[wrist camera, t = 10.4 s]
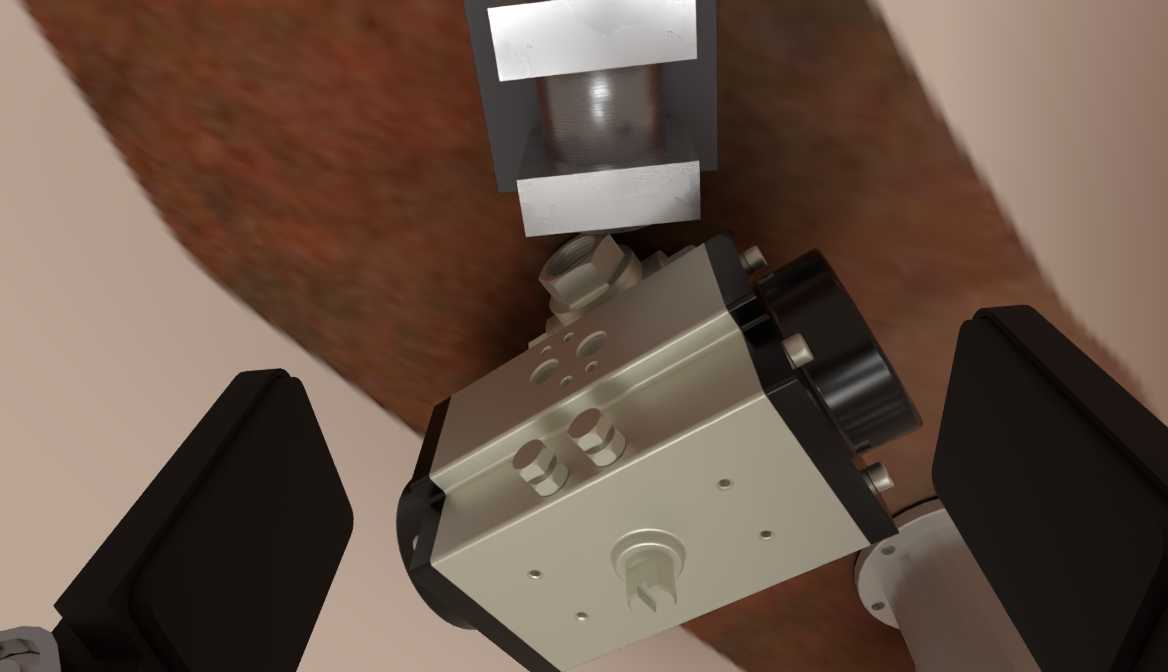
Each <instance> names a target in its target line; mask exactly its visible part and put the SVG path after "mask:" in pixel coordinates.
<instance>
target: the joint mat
mask: <svg viewBox="0 0 1168 672" xmlns="http://www.w3.org/2000/svg"><path fill="white" fill-rule="evenodd" d="M463 1H464V7H465V12H466V18H467V23H468V28H469V34H470V39H471V45H472V50H473V55H474V61H475V66H476V72H477V77H478V82H479V88H480V93H481V99H482V104H483V110H484V115H485V120H486V126H487V131H488V137H489V142H490V147H491V153H492V158H493V164H494V169H495V174H496V180H497V185H498V191H499V193H505V192H514V191H518V187H517V181H516V180H517V176H518V173H519V169H520V165H521V161H522V158H523V154H524V150H525V147H526V143H527V139H528V135H529V132H530V130H537V129H542V128H541V121H540V114H539V107H538V100H537V93H536V86H535V79H534V77H533V78H524V79H516V80H507V81H500V80H499V74H498V68H497V62H496V56H495V50H494V44H493V38H492V33H491V27H490V21H489V15H488V8H489V7H490V6H491V5H492V4H493V3H494V2H495V1H496V0H463ZM696 38H697V59H688V60H680V61H671V62H663V77H664V98H665V115H672V114H679V115H680V118H681V120H682V122H683V125H684V127H685V129H686V132H687V134H688V136H689V138H690V141H691V143H692V145H693V148H694V150H695V152H696V154H697V157H698V159H699V171H700V172H704V171H713V170H718V149H717V29H716V0H696Z"/></svg>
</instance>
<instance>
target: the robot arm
mask: <svg viewBox="0 0 1168 672" xmlns="http://www.w3.org/2000/svg"><path fill="white" fill-rule="evenodd" d="M932 481H933V485H934V489H935V491H936V494H937V496H938V497H939V499H935V500H932V501H929V502H925V503H923V504H921V505H918V506H916V507H914V508H911V509H909V510H907V511H905V512H903V513H902V514H900V515H898V516H897V517H895V518H893V520H894V522H895V524H896V526H897V528H898V530H899V532H900V533H899V534H897V535H894V536H892V537H890V538H887V539H885V540H882V541H880V542H877V543H875V544H873V545H870V546H868V547H865V548H863V549H862V551H861V552H860V554H859V556H858V558H857V562H856V565H855V569H854V582H855V585H856V588H857V591H858V594H859V597H860V599H861V601H862V603H863V605H864V607H865V608H866V609H867V610H868V611H869V612H870V613H871V614H872V616H874V617H875V618H877V619H878V620H880V621H881V622H883V623H885V624H887V625H890V626H892V627H895V628H897V629H900V631H901V633H902V635H903V638H904V640H905V642H906V645H907V647H908V649H909V652H910V654H911V656H912V659H913V661H914V663H915V666H916V669H915V672H1168V427H1167V426H1166V425H1164V424H1163V423H1162V422H1161V421H1160V420H1159V419H1158V418H1157V417H1155V416H1154V415H1153V414H1152V413H1151V412H1150V411H1149V410H1148V409H1146V408H1145V407H1144V406H1143V405H1142V404H1141V403H1140V402H1139V401H1137V400H1136V399H1135V398H1134V397H1133V396H1132V395H1131V394H1130V393H1128V392H1127V391H1126V390H1125V389H1124V388H1123V387H1122V386H1121V385H1119V384H1118V383H1117V382H1116V381H1115V380H1114V379H1113V378H1112V377H1110V376H1109V375H1108V374H1107V373H1106V372H1105V371H1104V370H1103V369H1101V368H1100V367H1099V366H1098V365H1097V364H1096V363H1095V362H1094V361H1092V360H1091V359H1090V358H1089V357H1088V356H1087V355H1086V354H1085V353H1083V352H1082V351H1081V350H1080V349H1079V348H1078V347H1077V346H1075V345H1074V344H1073V343H1072V342H1071V341H1070V340H1069V339H1068V338H1066V337H1065V336H1064V335H1063V334H1062V333H1061V332H1060V331H1059V330H1057V329H1056V328H1055V327H1054V326H1053V325H1052V324H1051V323H1050V322H1048V321H1047V320H1046V319H1045V318H1044V317H1043V316H1042V315H1041V314H1039V313H1038V312H1037V311H1036V310H1035V309H1034V308H1032V307H1030V306H1029V305H1014V306H1002V307H991V308H981V309H979V310H978V311H977V312H976V313H975V315H974V316H973V319H972V320H966V321H964V322H963V324H962V325H961V327H960V331H959V335H958V340H957V345H956V350H955V355H954V360H953V365H952V370H951V375H950V380H949V385H948V390H947V395H946V400H945V405H944V410H943V415H942V420H941V425H940V430H939V435H938V440H937V445H936V450H935V455H934V460H933V465H932ZM353 519H354V518H353V511H352V508H351V505H350V502H349V500H348V497H347V495H346V492H345V490H344V487H343V485H342V482H341V479H340V477H339V474H338V472H337V469H336V467H335V465H334V462H333V459H332V457H331V454H330V452H329V449H328V446H327V444H326V441H325V439H324V436H323V434H322V431H321V429H320V426H319V424H318V421H317V419H316V416H315V414H314V411H313V409H312V406H311V403H310V401H309V398H308V396H307V393H306V391H305V388H304V386H303V384H302V382H301V381H300V380H299V379H298V378H296V377H290V375H289V373H288V372H287V371H286V370H284V369H281V368H278V369H266V370H255V371H245V372H241V373H239V374H238V375H237V376H236V377H235V378H234V379H233V381H232V382H231V383H230V384H229V386H228V387H227V388H226V389H225V391H224V392H223V393H222V394H221V396H220V397H219V398H218V399H217V401H216V402H215V403H214V404H213V406H212V407H211V408H210V410H209V411H208V412H207V413H206V414H205V416H204V417H203V418H202V419H201V421H200V422H199V423H198V425H197V426H196V427H195V428H194V430H193V431H192V432H191V433H190V435H189V436H188V437H187V438H186V440H185V441H184V442H183V443H182V445H181V446H180V447H179V448H178V450H177V451H176V452H175V454H174V455H173V456H172V457H171V458H170V460H169V461H168V462H167V463H166V465H165V466H164V467H163V468H162V470H161V471H160V472H159V473H158V475H157V476H156V477H155V479H154V480H153V481H152V482H151V483H150V485H149V486H148V487H147V489H146V490H145V491H144V492H143V494H142V495H141V496H140V497H139V499H138V500H137V501H136V502H135V504H134V505H133V506H132V507H131V509H130V510H129V511H128V512H127V514H126V515H125V516H124V517H123V519H122V520H121V521H120V522H119V524H118V525H117V526H116V527H115V529H114V530H113V531H112V533H111V534H110V535H109V536H108V537H107V539H106V540H105V541H104V543H103V544H102V545H101V546H100V548H99V549H98V550H97V551H96V553H95V554H94V555H93V556H92V558H91V559H90V560H89V562H88V563H87V564H86V565H85V566H84V568H83V569H82V570H81V571H80V573H79V574H78V575H77V576H76V578H75V579H74V580H73V581H72V583H71V584H70V585H69V587H68V588H67V589H66V590H65V592H64V593H63V594H62V595H61V597H60V598H59V599H58V601H57V602H56V603H55V604H54V607H55V609H56V610H57V611H58V613H59V614H60V615H61V616H62V619H61V621H60V622H59V624H58V625H57V626H56V627H55V628H54V630H53V631H52V632H49V631H47V630H45V629H43V628H41V627H27V626H25V627H24V626H23V627H22V626H21V627H17V628H13V629H8V630H5V631H0V672H296V671H297V668H298V666H299V663H300V661H301V658H302V656H303V653H304V651H305V648H306V646H307V643H308V641H309V638H310V636H311V633H312V631H313V628H314V626H315V624H316V621H317V619H318V616H319V614H320V611H321V609H322V606H323V604H324V601H325V599H326V596H327V594H328V591H329V589H330V586H331V584H332V581H333V578H334V576H335V574H336V571H337V569H338V566H339V564H340V561H341V559H342V556H343V554H344V551H345V549H346V546H347V544H348V541H349V539H350V537H351V533H352V530H353Z"/></svg>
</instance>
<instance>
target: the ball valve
mask: <svg viewBox="0 0 1168 672" xmlns="http://www.w3.org/2000/svg"><path fill="white" fill-rule="evenodd" d="M766 266H767V262H766V261H765V259H764V257H763V255H762V254H761V252H760V250H759V249H758V247H757V246H753V247H751V248H749V249H748V250H746V251H744V249H743V247H742V246H741V244H740V243H739V241H738V240H737V238H736V236H735V235H734V233H733V232H732V231H730V232H729V231H728V230H727V229H726V230H724V231H723V232H721V233H720V234H718V235H716V236H715V237H713V238H711V239H710V240H708V241H706V242H705V243H703V244H701V245H700V246H698V247H695V246H694V245H690V246H687V247H685V248H683V249H682V250H680V251H679V252H677V253H675V254H674V255H672V256H670V257H669V258H668V257H667V256H666V255H665V254H664V253H663V252H662V251H657V252H656V253H654V254H652V255H651V256H649V257H648V258H646V259H644V260H643V261H641V262H640V261H639V260H638V258H637V257H636V255H635V254H634V253H633V251H632V250H631V249H630V247H628V246H627V245H617V244H616V242H615V241H614V240H613V238H612V237H611V236H610V234H603V235H594V234H580V235H578V236H576V237H575V238H573V239H571V240H570V241H568V242H567V243H566V244H564V245H563V246H562V247H561V248H560V249H558V250H557V251H556V252H555V253H554V254H553V255H552V256H551V258H550V259H549V260H548V261H547V262H546V264H545V265H544V267H543V269H542V271H541V273H540V276H539V279H538V280H539V281H540V282H541V284H542V285H543V286H544V287H545V288H546V290H547V291H548V292H549V293H550V294H551V298H550V302H549V307H550V310H551V311H552V312H553V313H554V315H553V316H552V317H550V318H549V319H548V320H547V322H546V333H544V334H542V335H541V336H539V337H538V338H536V339H534V340H533V341H531V342H529V349H528V350H526V351H525V352H523V353H522V354H520V355H518V356H517V357H515V358H513V359H512V360H510V361H508V362H507V363H505V364H503V365H502V366H500V367H498V368H497V369H495V370H494V371H492V372H490V373H489V374H487V375H485V376H484V377H482V378H480V379H479V380H477V381H475V382H474V383H472V384H470V385H469V386H467V387H465V388H464V389H462V390H461V391H459V392H457V393H456V394H454V395H452V396H451V397H449V398H447V399H446V400H444V401H442V402H441V403H439V404H437V405H436V406H434V409H433V413H432V416H431V419H430V422H429V425H428V429H427V432H426V435H425V438H424V441H423V445H422V448H421V451H420V454H419V457H418V461H417V464H416V467H415V470H414V474H413V477H412V479H411V480H410V481H409V482H408V484H407V485H406V487H405V488H404V490H403V492H402V494H401V497H400V499H399V503H398V508H397V515H396V530H397V531H396V532H397V540H398V545H399V550H400V554H401V557H402V561H403V563H404V566H405V569H406V571H407V573H408V576H409V578H410V580H411V582H412V583H413V585H414V587H415V589H416V590H417V592H418V593H419V595H420V596H421V597H422V599H423V600H424V602H425V603H426V604H427V605H428V606H429V607H430V608H431V609H432V610H433V611H434V612H435V613H436V614H437V615H438V616H439V617H441V618H442V619H443V620H445V621H446V622H448V623H450V624H451V625H453V626H456V627H459V628H462V629H469V630H478V631H479V632H481V633H482V634H483V635H484V636H486V637H487V638H488V639H489V640H491V641H492V642H493V643H495V644H496V645H497V646H498V647H500V648H501V649H502V650H503V651H505V652H506V653H507V654H508V655H510V656H511V657H512V658H513V659H515V660H516V661H517V662H518V663H520V664H521V665H522V666H524V667H525V668H526V669H527V670H529V671H530V672H565V671H567V670H570V669H572V668H575V667H577V666H580V665H582V664H584V663H587V662H589V661H591V660H594V659H597V658H599V657H601V656H603V655H606V654H608V653H611V652H613V651H616V650H618V649H621V648H623V647H626V646H628V645H630V644H633V643H635V642H638V641H640V640H642V639H645V638H647V637H650V636H652V635H655V634H657V633H659V632H662V631H664V630H667V629H669V628H671V627H674V626H676V625H679V624H681V623H684V622H686V621H689V620H691V619H693V618H696V617H698V616H701V615H703V614H705V613H708V612H710V611H713V610H715V609H718V608H720V607H722V606H725V605H727V604H730V603H732V602H735V601H737V600H739V599H742V598H744V597H747V596H749V595H751V594H754V593H756V592H759V591H761V590H764V589H766V588H768V587H771V586H773V585H776V584H778V583H781V582H783V581H785V580H788V579H790V578H793V577H795V576H798V575H800V574H802V573H805V572H807V571H810V570H812V569H814V568H817V567H819V566H822V565H824V564H827V563H829V562H831V561H834V560H836V559H839V558H841V557H844V556H846V555H848V554H851V553H853V552H856V551H858V550H860V549H863V548H865V547H868V546H870V545H873V544H875V543H877V542H880V541H882V540H885V539H887V538H890V537H892V536H894V535H897V534H899V533H900V532H899V530H898V528H897V526H896V524H895V522H894V520H893V518H892V516H891V514H890V512H889V510H888V508H887V506H886V504H885V502H884V500H883V498H882V496H881V494H880V492H882V491H884V490H887V489H889V488H891V487H893V486H894V483H893V481H892V479H891V477H890V475H889V473H888V472H887V470H886V468H885V467H884V465H883V464H882V462H877V463H875V464H873V465H870V466H868V467H867V466H866V464H865V462H864V460H863V458H862V454H865V453H867V452H869V451H871V450H873V449H876V448H878V447H880V446H882V445H884V444H886V443H889V442H891V441H893V440H895V439H897V438H900V437H902V436H904V435H906V434H908V433H910V432H913V431H915V430H917V429H919V428H921V427H922V425H923V421H922V419H921V416H920V414H919V412H918V411H917V409H916V407H915V405H914V403H913V401H912V399H911V398H910V396H909V394H908V392H907V391H906V389H905V387H904V385H903V384H902V382H901V380H900V378H899V377H898V375H897V373H896V371H895V370H894V368H893V366H892V365H891V363H890V361H889V360H888V358H887V356H886V354H885V353H884V351H883V349H882V348H881V346H880V344H879V343H878V341H877V339H876V338H875V336H874V334H873V333H872V331H871V329H870V328H869V326H868V324H867V323H866V321H865V320H864V318H863V316H862V315H861V313H860V311H859V310H858V308H857V307H856V305H855V303H854V302H853V300H852V298H851V297H850V295H849V294H848V292H847V290H846V289H845V287H844V286H843V284H842V283H841V281H840V279H839V278H838V276H837V275H836V273H835V272H834V270H833V269H832V267H831V266H830V264H829V263H828V261H827V260H826V258H825V257H824V255H823V254H822V253H821V251H820V250H818V249H816V248H814V249H812V250H810V251H808V252H806V253H805V254H803V255H801V256H799V257H798V258H796V259H794V260H792V261H791V262H789V263H787V264H785V265H784V266H782V267H780V268H778V269H777V270H775V271H773V272H771V273H770V274H768V275H766V276H764V277H763V278H762V277H761V276H760V274H759V273H758V271H759V270H761V269H763V268H765V267H766Z"/></svg>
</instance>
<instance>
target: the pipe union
mask: <svg viewBox="0 0 1168 672" xmlns="http://www.w3.org/2000/svg"><path fill="white" fill-rule="evenodd" d="M488 15H489V21H490V27H491V33H492V38H493V44H494V50H495V56H496V62H497V68H498V74H499V80H500V81H507V80H516V79H524V78H533V77H534V79H535V86H536V93H537V100H538V107H539V114H540V121H541V128H542V129H537V130H530V132H529V135H528V139H527V143H526V147H525V150H524V154H523V158H522V161H521V165H520V169H519V173H518V176H517V180H516V181H517V187H518V192H519V198H520V204H521V210H522V216H523V222H524V228H525V234H526V237H530V236H540V235H550V234H560V233H570V232H576V233H582V234H594V235H603V234H616V233H623V232H629V231H633V230H637V229H640V228H644V227H646V226H649V225H651V224H659V223H669V222H679V221H689V220H699V219H701V215H700V171H699V159H698V157H697V154H696V152H695V150H694V148H693V145H692V143H691V141H690V138H689V136H688V134H687V132H686V129H685V127H684V125H683V122H682V120H681V118H680V115H679V114H672V115H665V98H664V77H663V62H671V61H680V60H688V59H697V38H696V0H496V1H495V2H494V3H493V4H492V5H491V6H490V7H489V8H488Z"/></svg>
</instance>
